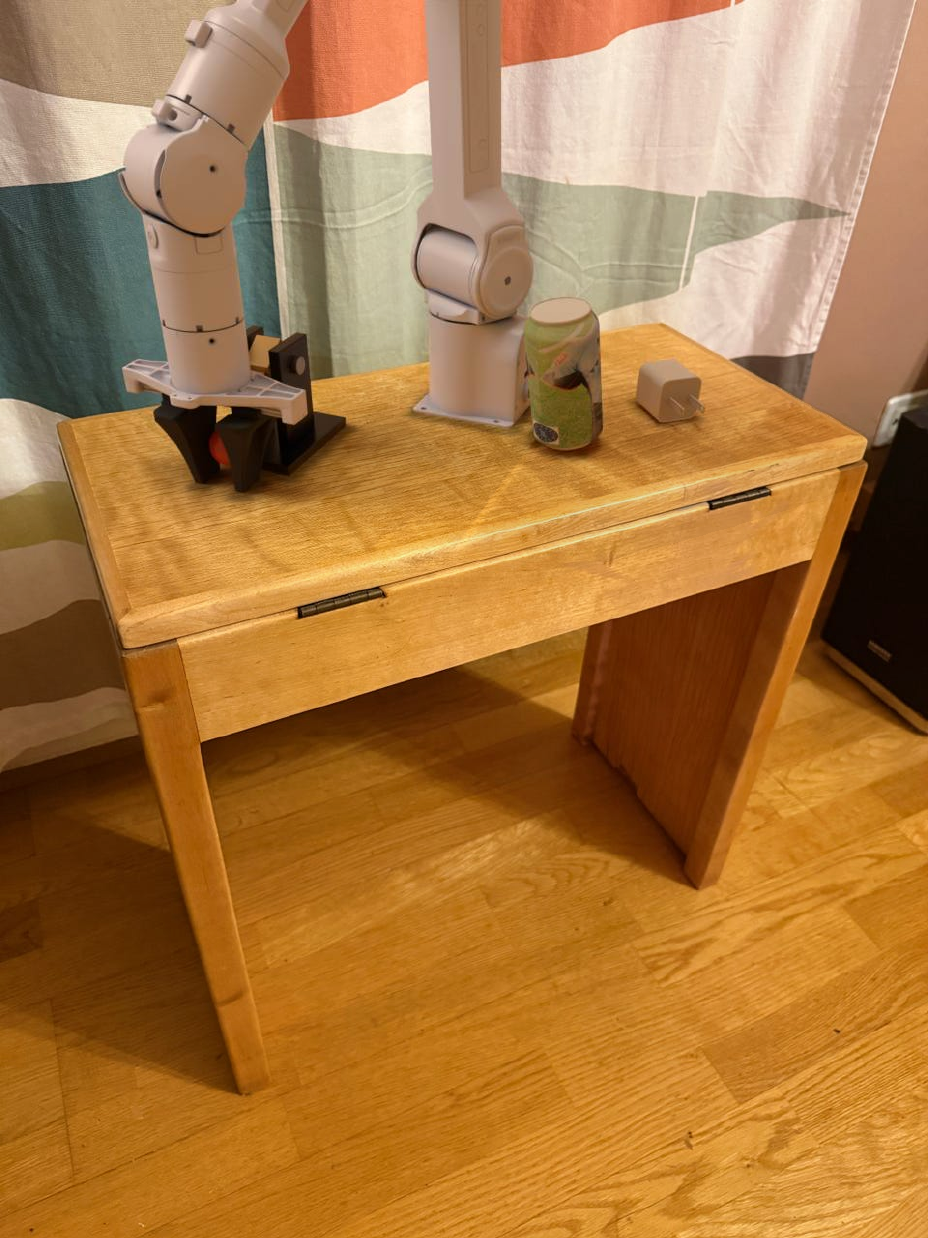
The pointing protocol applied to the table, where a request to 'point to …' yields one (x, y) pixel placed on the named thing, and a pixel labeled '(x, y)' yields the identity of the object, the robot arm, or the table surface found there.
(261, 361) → the switch lever
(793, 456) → the table surface
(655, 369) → the usb wall charger
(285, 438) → the switch bracket
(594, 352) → the beverage can
